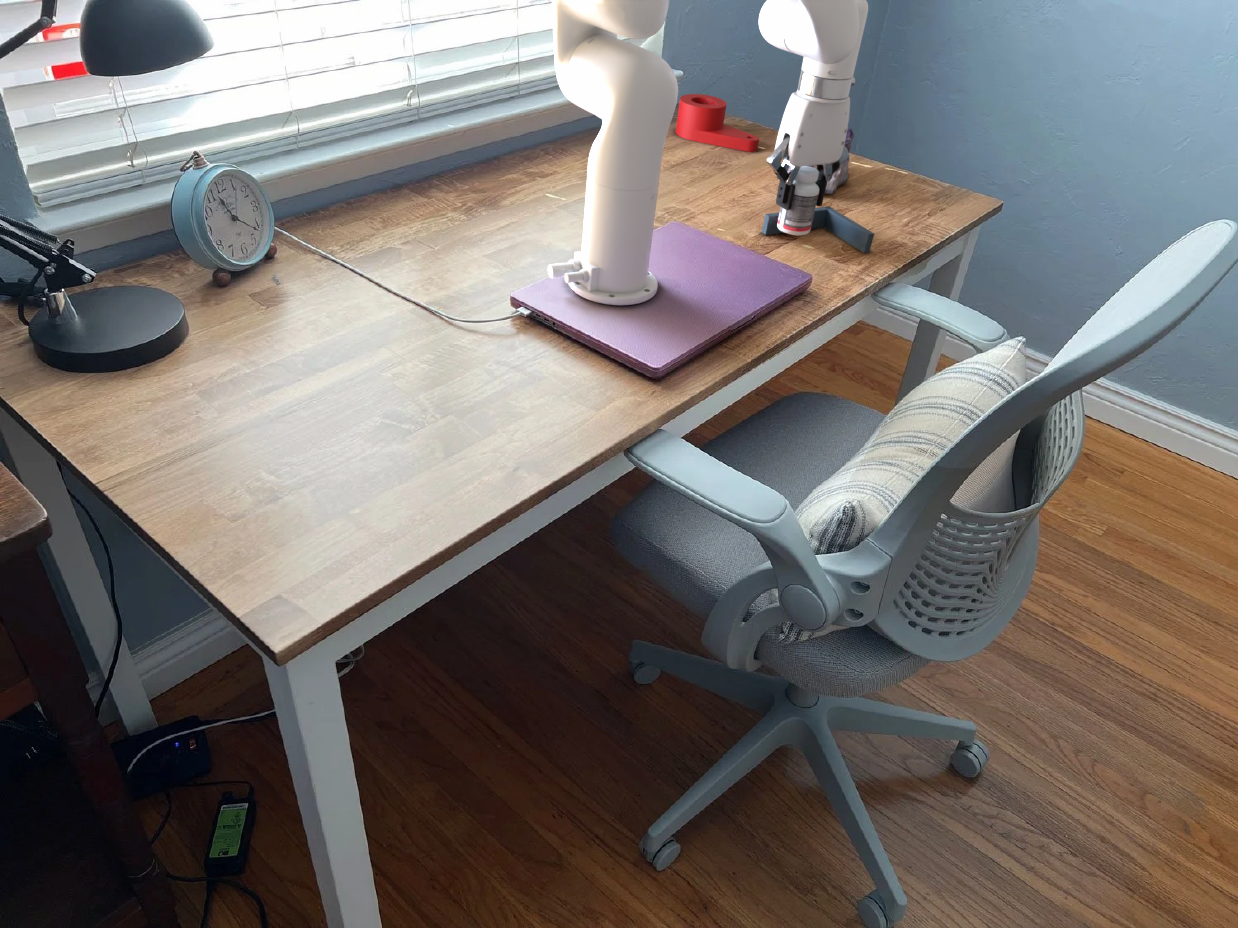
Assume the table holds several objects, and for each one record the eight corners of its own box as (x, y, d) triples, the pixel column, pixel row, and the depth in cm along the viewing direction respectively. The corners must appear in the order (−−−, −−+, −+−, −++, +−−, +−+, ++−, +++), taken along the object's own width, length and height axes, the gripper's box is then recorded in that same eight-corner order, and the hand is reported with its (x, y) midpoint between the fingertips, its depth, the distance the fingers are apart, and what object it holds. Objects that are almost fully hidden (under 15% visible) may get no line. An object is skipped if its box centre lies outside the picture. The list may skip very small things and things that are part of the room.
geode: (798, 159, 187) (816, 109, 182) (853, 181, 185) (873, 131, 179) (767, 184, 172) (786, 130, 166) (826, 208, 169) (847, 154, 163)
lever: (667, 133, 193) (671, 100, 189) (689, 124, 199) (694, 91, 195) (746, 156, 186) (752, 122, 182) (766, 146, 192) (772, 112, 188)
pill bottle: (816, 233, 152) (830, 173, 146) (792, 238, 149) (805, 177, 143) (794, 221, 155) (807, 162, 149) (769, 225, 153) (781, 165, 147)
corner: (804, 262, 147) (808, 243, 145) (761, 232, 155) (764, 214, 153) (869, 252, 153) (874, 233, 151) (824, 224, 161) (829, 206, 159)
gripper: (853, 77, 145) (826, 191, 156) (762, 81, 138) (740, 201, 149) (885, 91, 140) (855, 209, 151) (792, 96, 133) (768, 219, 144)
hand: (798, 204), depth 150 cm, fingers closed on pill bottle, 5 cm apart
